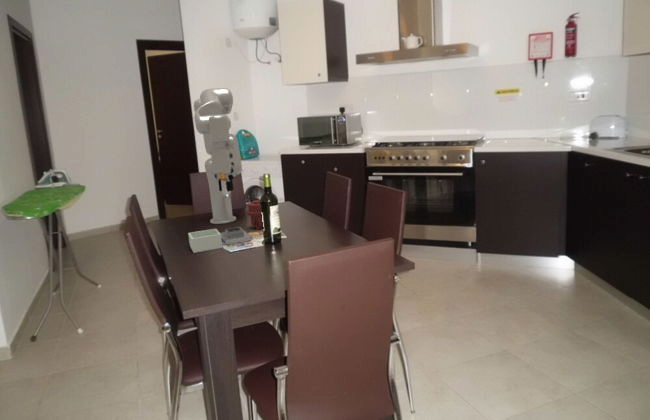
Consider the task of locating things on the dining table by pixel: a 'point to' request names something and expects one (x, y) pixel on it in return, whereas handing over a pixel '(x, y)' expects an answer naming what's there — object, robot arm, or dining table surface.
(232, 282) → the dining table surface
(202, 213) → the dining table surface
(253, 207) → the mechanical component
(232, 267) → the dining table surface
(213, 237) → the bin
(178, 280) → the dining table surface
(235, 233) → the white base with recess
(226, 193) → the copper-capped metal peg
